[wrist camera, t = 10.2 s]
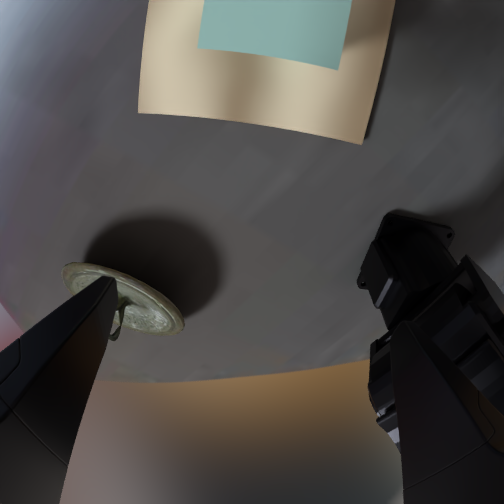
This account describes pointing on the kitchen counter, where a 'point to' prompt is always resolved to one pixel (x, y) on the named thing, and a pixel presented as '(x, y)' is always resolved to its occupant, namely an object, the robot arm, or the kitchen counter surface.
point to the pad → (262, 75)
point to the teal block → (277, 28)
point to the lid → (129, 300)
